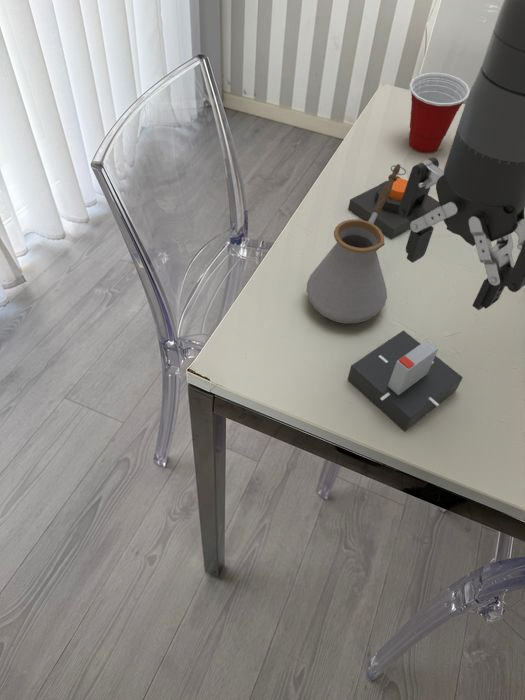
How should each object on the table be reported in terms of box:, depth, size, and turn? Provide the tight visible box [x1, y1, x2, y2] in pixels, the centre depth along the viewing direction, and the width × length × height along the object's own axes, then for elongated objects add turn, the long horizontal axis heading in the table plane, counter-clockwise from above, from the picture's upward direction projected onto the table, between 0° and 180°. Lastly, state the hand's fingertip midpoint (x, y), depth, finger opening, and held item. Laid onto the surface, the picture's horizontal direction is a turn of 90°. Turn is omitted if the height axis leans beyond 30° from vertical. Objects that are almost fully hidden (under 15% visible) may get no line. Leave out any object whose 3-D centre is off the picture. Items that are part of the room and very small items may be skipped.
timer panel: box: [347, 329, 463, 432], centre depth 72 cm, size 11×11×3 cm
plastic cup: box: [408, 72, 471, 154], centre depth 107 cm, size 11×11×12 cm
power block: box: [347, 175, 440, 240], centre depth 96 cm, size 12×10×4 cm
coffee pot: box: [306, 163, 407, 324], centre depth 80 cm, size 21×12×15 cm, turn 153°
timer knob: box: [388, 339, 439, 395], centre depth 69 cm, size 6×2×5 cm, turn 129°
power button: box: [388, 177, 408, 201], centre depth 94 cm, size 4×4×2 cm
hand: (447, 280), depth 58 cm, fingers open, 8 cm apart
